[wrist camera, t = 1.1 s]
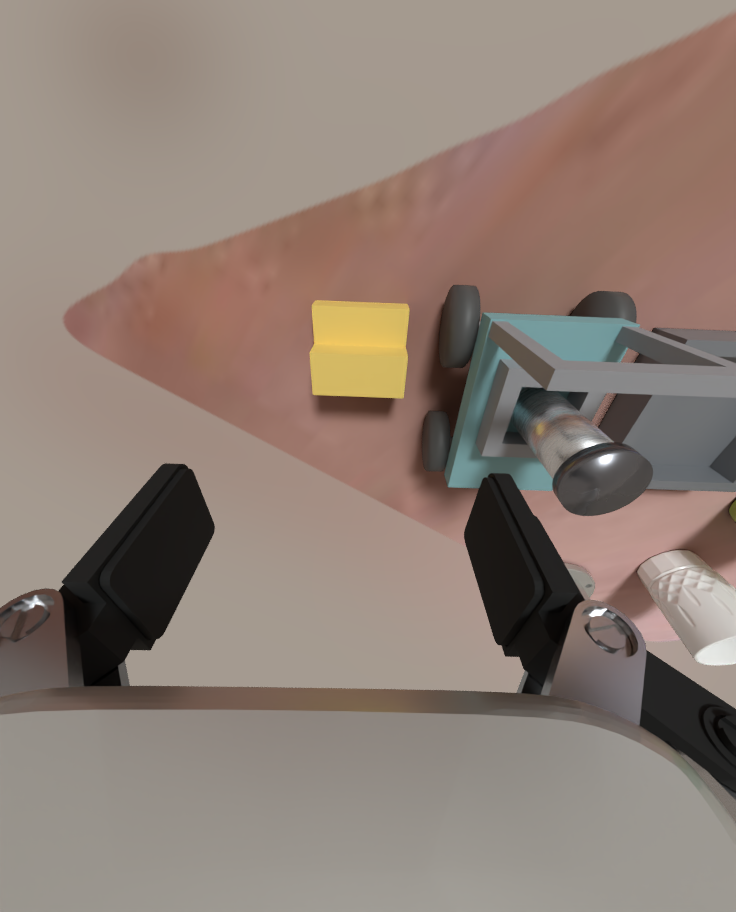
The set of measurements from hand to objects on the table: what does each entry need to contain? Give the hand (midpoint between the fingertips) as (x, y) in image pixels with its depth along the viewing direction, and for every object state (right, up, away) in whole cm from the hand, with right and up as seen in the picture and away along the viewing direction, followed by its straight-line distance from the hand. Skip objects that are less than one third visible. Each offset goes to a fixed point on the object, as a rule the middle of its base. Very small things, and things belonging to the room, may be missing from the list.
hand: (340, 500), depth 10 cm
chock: (0, +10, +13) cm, 17 cm away
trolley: (+11, +8, +15) cm, 20 cm away
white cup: (+39, -13, +30) cm, 51 cm away
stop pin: (+11, +5, +9) cm, 15 cm away
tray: (+28, +5, +16) cm, 33 cm away
